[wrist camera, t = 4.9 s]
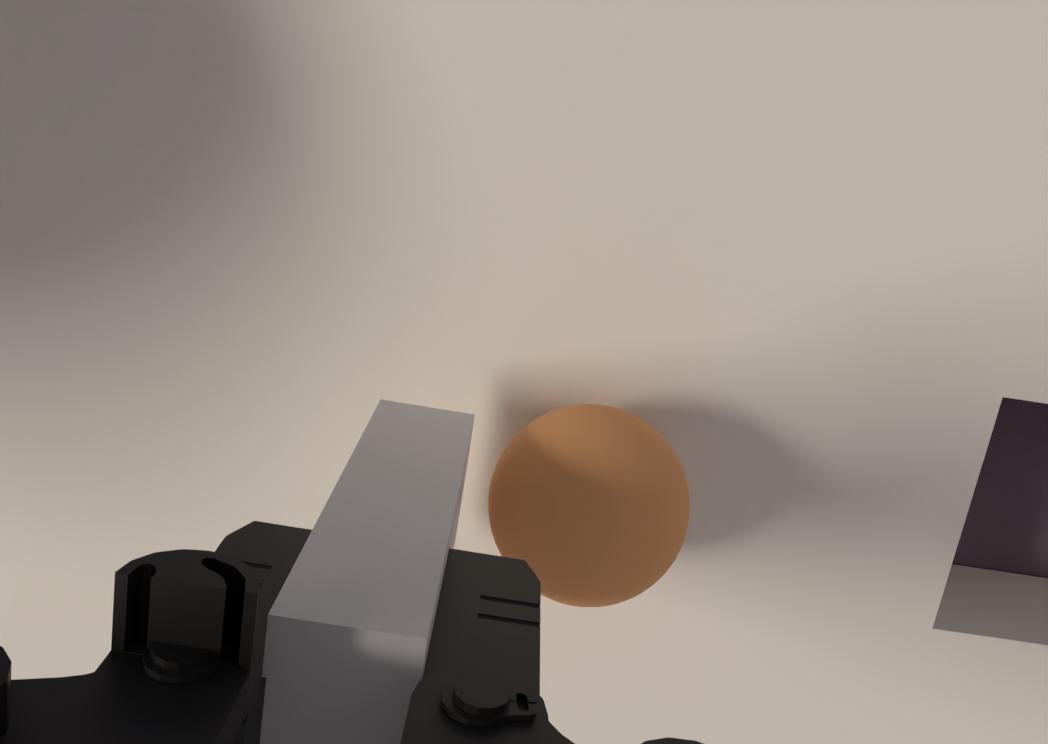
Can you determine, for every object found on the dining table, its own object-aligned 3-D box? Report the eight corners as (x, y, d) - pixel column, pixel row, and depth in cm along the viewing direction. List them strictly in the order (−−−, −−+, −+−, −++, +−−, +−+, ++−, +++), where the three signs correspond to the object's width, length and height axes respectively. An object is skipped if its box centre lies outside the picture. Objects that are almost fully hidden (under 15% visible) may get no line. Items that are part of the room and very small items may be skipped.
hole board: (48, -168, 17) (-51, -217, 14) (1584, 81, 18) (1780, 81, 15) (37, 707, 22) (-38, 799, 20) (1236, 875, 23) (1335, 988, 20)
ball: (532, 446, 13) (745, 468, 14) (493, 364, 16) (673, 386, 17) (488, 644, 14) (690, 655, 15) (459, 533, 17) (629, 547, 18)
